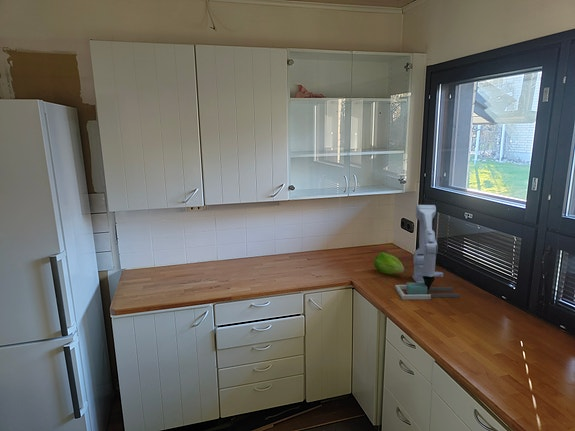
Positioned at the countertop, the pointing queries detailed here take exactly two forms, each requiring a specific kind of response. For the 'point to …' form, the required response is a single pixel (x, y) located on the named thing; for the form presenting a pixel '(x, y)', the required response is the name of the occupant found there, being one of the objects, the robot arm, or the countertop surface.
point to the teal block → (416, 288)
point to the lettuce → (388, 264)
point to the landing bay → (415, 296)
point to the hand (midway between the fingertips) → (427, 289)
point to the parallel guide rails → (443, 293)
